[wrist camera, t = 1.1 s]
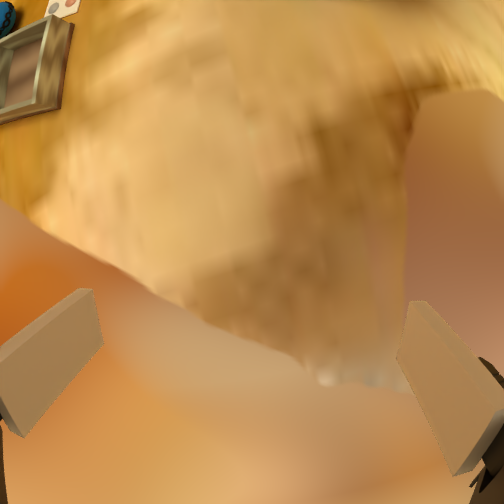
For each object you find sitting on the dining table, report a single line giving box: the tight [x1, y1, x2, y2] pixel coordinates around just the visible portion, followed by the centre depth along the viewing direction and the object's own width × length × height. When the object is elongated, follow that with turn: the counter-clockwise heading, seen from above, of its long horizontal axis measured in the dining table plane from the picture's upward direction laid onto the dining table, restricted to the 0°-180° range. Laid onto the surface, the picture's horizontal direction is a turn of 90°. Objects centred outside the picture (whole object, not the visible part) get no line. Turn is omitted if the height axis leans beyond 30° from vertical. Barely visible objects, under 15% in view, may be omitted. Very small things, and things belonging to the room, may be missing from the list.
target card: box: [44, 0, 81, 18], centre depth 31 cm, size 6×8×1 cm
